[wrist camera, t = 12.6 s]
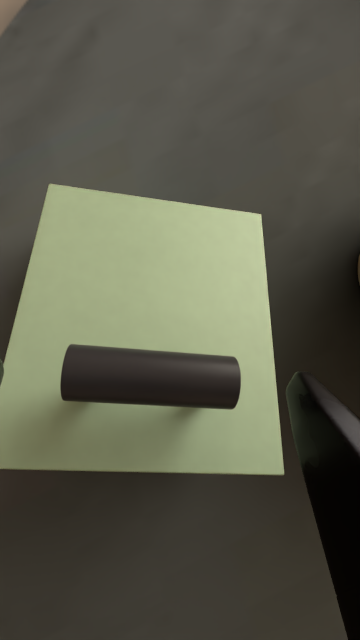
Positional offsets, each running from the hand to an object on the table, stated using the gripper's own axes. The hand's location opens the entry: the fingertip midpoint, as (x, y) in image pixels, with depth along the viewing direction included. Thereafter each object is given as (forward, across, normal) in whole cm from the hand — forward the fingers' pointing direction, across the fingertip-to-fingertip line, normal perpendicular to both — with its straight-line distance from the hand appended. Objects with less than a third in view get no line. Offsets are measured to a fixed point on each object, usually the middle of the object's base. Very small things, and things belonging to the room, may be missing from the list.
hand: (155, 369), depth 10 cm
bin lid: (+5, 0, +2) cm, 6 cm away
